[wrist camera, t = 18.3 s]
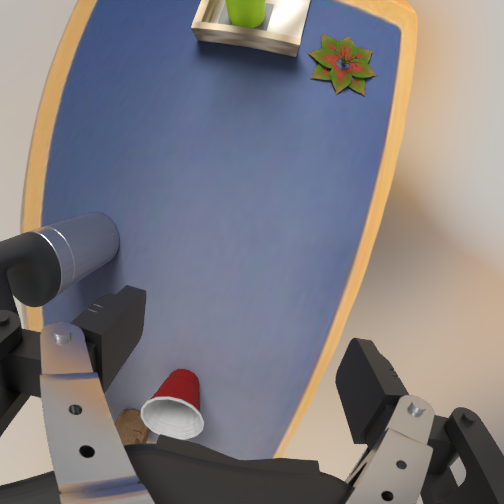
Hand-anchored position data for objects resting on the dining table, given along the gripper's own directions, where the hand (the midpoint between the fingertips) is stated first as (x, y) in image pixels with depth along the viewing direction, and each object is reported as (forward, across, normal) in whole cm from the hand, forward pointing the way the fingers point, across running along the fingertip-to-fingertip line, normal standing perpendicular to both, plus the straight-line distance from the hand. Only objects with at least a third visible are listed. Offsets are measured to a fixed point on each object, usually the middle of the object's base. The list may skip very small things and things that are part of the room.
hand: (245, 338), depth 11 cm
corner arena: (+36, +8, -34) cm, 50 cm away
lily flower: (+37, -8, -27) cm, 46 cm away
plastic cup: (+36, +6, +34) cm, 50 cm away
